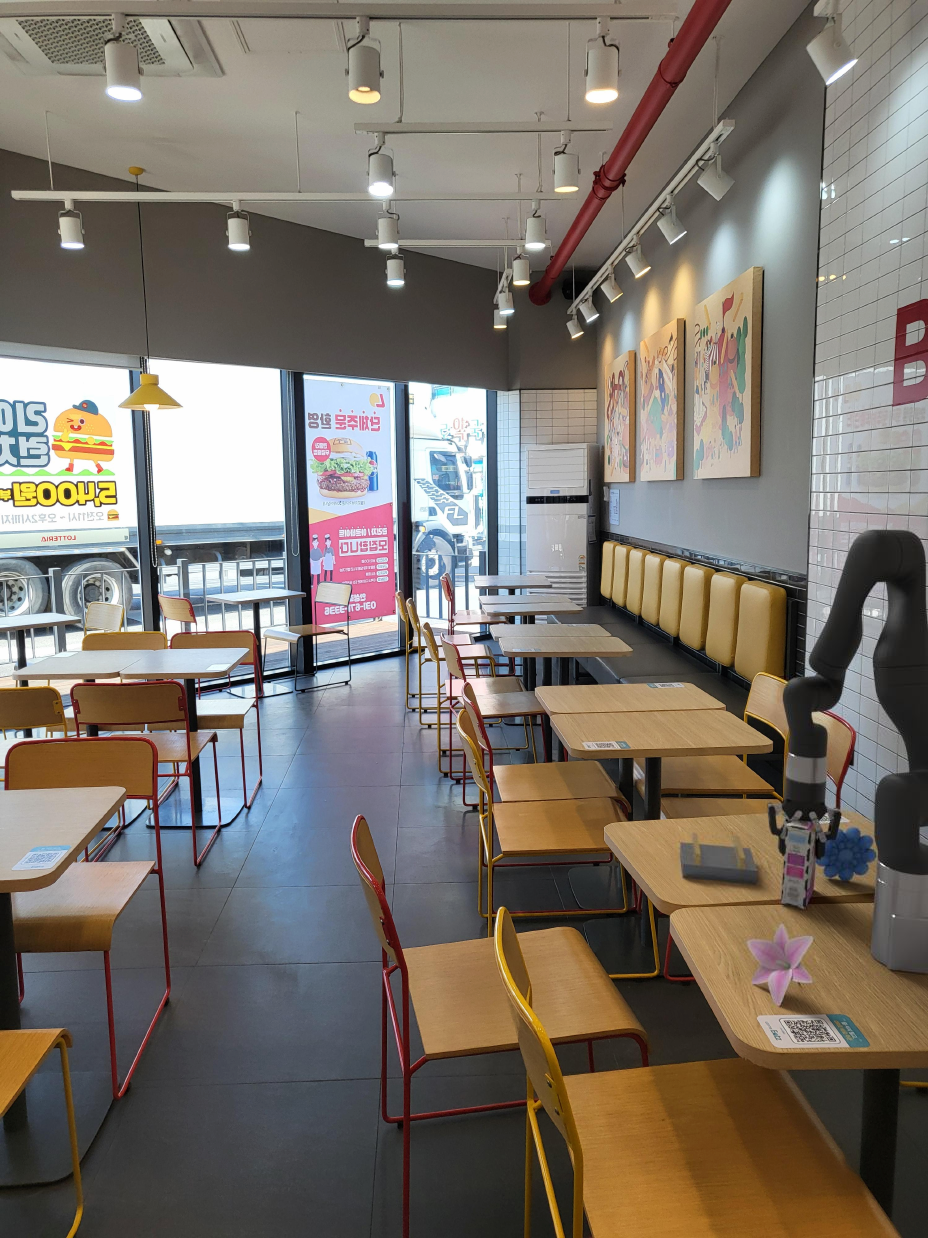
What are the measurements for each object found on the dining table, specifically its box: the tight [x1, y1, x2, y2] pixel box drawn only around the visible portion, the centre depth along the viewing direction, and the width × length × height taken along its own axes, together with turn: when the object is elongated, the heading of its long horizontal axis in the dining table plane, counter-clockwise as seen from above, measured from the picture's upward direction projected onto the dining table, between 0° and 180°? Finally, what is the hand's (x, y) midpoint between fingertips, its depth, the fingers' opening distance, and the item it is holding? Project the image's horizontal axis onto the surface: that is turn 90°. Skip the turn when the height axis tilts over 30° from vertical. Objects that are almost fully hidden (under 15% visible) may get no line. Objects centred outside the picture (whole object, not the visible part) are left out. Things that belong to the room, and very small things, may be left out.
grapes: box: [816, 826, 878, 882], centre depth 174 cm, size 12×7×12 cm, turn 69°
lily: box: [746, 923, 814, 1007], centre depth 134 cm, size 12×12×10 cm
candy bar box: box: [780, 820, 818, 910], centre depth 166 cm, size 11×5×16 cm, turn 149°
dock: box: [679, 832, 758, 885], centre depth 179 cm, size 12×15×6 cm
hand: (800, 856), depth 165 cm, fingers closed on candy bar box, 6 cm apart
